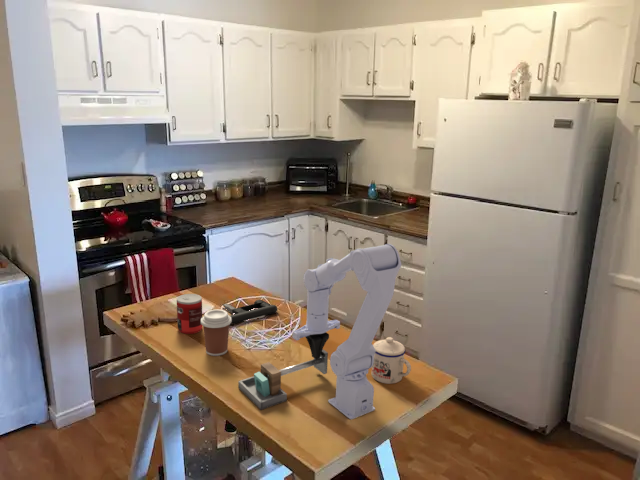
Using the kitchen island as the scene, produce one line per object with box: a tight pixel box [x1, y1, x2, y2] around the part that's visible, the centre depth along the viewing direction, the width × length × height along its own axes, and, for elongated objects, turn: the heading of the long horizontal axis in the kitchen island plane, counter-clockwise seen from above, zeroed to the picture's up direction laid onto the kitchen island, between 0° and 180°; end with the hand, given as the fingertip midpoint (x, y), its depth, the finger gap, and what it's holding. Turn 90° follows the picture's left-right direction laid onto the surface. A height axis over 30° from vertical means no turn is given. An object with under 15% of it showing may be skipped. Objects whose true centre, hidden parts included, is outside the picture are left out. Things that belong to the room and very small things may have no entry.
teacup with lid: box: [371, 336, 412, 385], centre depth 146 cm, size 12×9×12 cm
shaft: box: [267, 348, 329, 380], centre depth 142 cm, size 5×17×6 cm, turn 126°
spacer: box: [253, 371, 270, 397], centre depth 136 cm, size 5×2×5 cm, turn 36°
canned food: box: [176, 293, 203, 335], centre depth 171 cm, size 8×8×11 cm
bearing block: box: [260, 361, 282, 396], centre depth 137 cm, size 6×2×7 cm, turn 36°
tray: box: [237, 375, 288, 411], centre depth 137 cm, size 12×8×2 cm, turn 36°
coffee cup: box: [201, 309, 232, 357], centre depth 157 cm, size 9×9×12 cm
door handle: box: [222, 299, 278, 325], centre depth 186 cm, size 3×20×16 cm
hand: (315, 357), depth 145 cm, fingers closed
